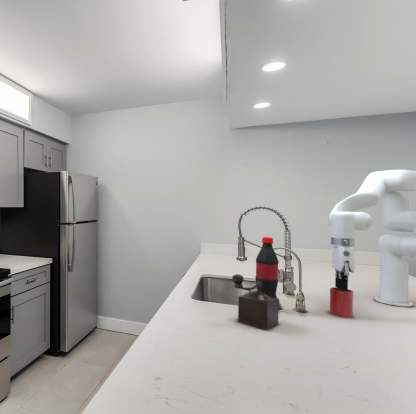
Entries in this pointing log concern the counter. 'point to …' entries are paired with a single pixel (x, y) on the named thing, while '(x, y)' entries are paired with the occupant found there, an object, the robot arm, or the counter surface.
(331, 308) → the can
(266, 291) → the cola bottle
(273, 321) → the manual coffee grinder
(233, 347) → the counter surface
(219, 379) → the counter surface
